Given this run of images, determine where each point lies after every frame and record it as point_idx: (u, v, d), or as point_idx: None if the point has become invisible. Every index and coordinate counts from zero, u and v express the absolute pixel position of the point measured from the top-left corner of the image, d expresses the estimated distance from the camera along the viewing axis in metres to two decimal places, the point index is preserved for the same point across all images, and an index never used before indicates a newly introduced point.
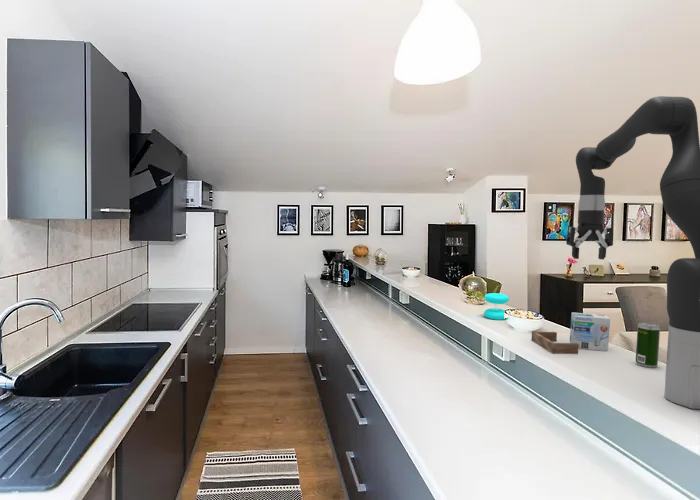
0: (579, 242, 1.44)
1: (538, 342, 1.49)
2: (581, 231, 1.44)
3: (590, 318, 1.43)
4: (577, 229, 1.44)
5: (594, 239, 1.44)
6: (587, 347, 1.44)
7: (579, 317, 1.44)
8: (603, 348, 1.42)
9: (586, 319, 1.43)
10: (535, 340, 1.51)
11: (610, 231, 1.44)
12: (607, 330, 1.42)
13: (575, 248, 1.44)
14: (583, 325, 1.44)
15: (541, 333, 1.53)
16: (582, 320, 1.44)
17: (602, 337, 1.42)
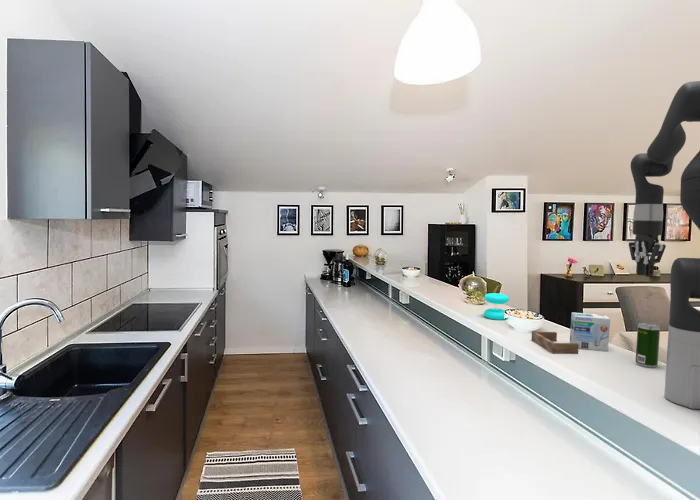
0: None
1: (538, 342, 1.49)
2: None
3: (590, 318, 1.43)
4: None
5: None
6: (587, 347, 1.44)
7: (579, 317, 1.44)
8: (603, 348, 1.42)
9: (586, 319, 1.43)
10: (535, 340, 1.51)
11: None
12: (607, 330, 1.42)
13: None
14: (583, 325, 1.44)
15: (541, 333, 1.53)
16: (582, 320, 1.44)
17: (602, 337, 1.42)
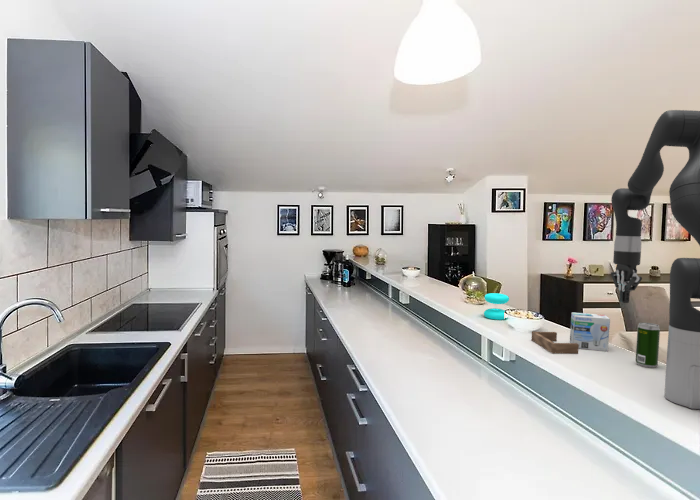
0: None
1: (538, 342, 1.49)
2: None
3: (590, 318, 1.43)
4: None
5: None
6: (587, 347, 1.44)
7: (579, 317, 1.44)
8: (603, 348, 1.42)
9: (586, 319, 1.43)
10: (535, 340, 1.51)
11: None
12: (607, 330, 1.42)
13: None
14: (583, 325, 1.44)
15: (541, 333, 1.53)
16: (582, 320, 1.44)
17: (602, 337, 1.42)
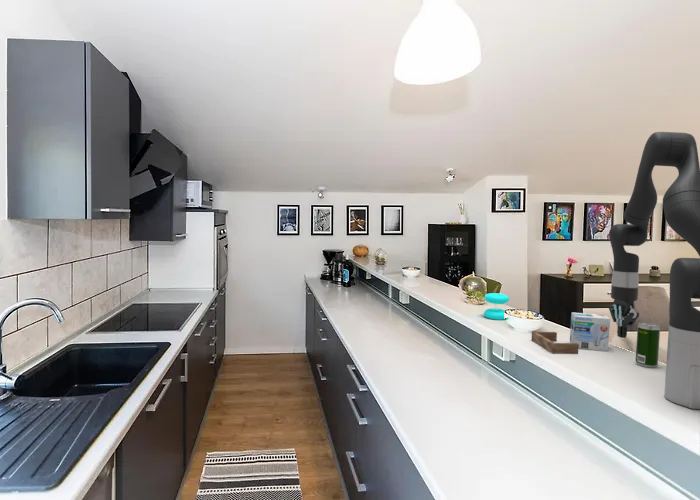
0: None
1: (538, 342, 1.49)
2: None
3: (590, 318, 1.43)
4: None
5: None
6: (587, 347, 1.44)
7: (579, 317, 1.44)
8: (603, 348, 1.42)
9: (586, 319, 1.43)
10: (535, 340, 1.51)
11: None
12: (607, 330, 1.42)
13: None
14: (583, 325, 1.44)
15: (541, 333, 1.53)
16: (582, 320, 1.44)
17: (602, 337, 1.42)
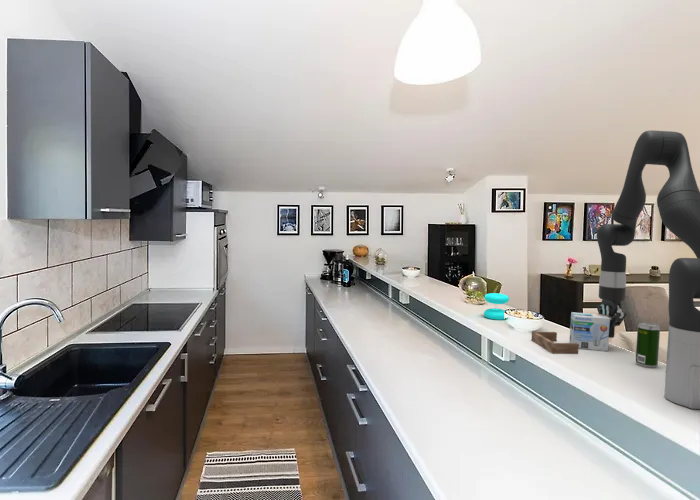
0: None
1: (538, 342, 1.49)
2: None
3: (590, 318, 1.43)
4: None
5: None
6: (587, 347, 1.44)
7: (579, 317, 1.44)
8: (603, 347, 1.42)
9: (586, 319, 1.43)
10: (535, 340, 1.51)
11: None
12: (607, 330, 1.42)
13: None
14: (583, 325, 1.44)
15: (541, 333, 1.53)
16: (582, 320, 1.44)
17: (602, 337, 1.42)
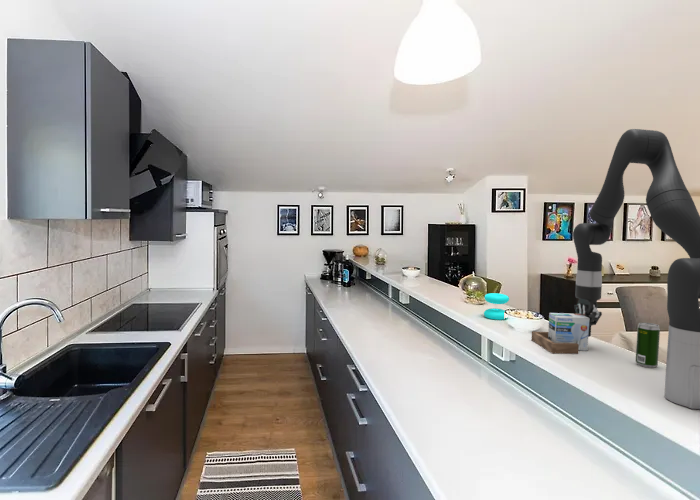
0: None
1: (538, 342, 1.49)
2: None
3: (571, 318, 1.42)
4: None
5: None
6: None
7: (561, 318, 1.42)
8: (584, 347, 1.42)
9: (567, 319, 1.42)
10: (535, 340, 1.51)
11: None
12: (587, 329, 1.42)
13: None
14: (565, 326, 1.42)
15: (541, 333, 1.53)
16: (563, 321, 1.42)
17: (582, 337, 1.42)
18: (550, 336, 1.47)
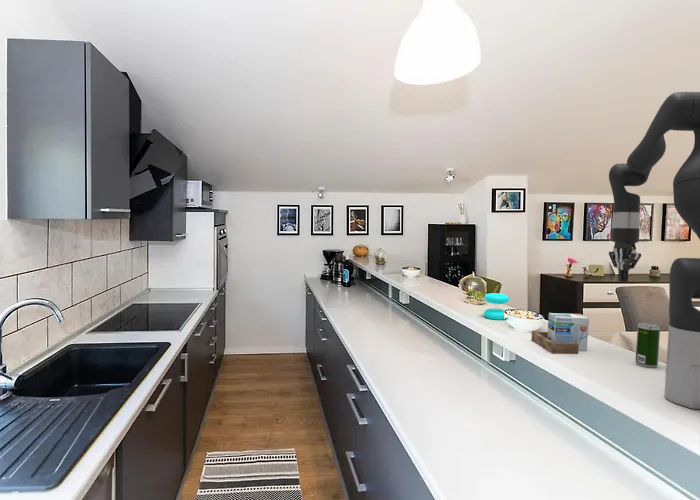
0: None
1: (538, 342, 1.49)
2: None
3: (570, 318, 1.42)
4: None
5: None
6: None
7: (560, 318, 1.42)
8: (583, 347, 1.42)
9: (567, 320, 1.42)
10: (535, 340, 1.51)
11: None
12: (586, 330, 1.42)
13: None
14: (564, 326, 1.42)
15: (541, 333, 1.53)
16: (563, 321, 1.42)
17: (582, 337, 1.42)
18: (549, 336, 1.47)
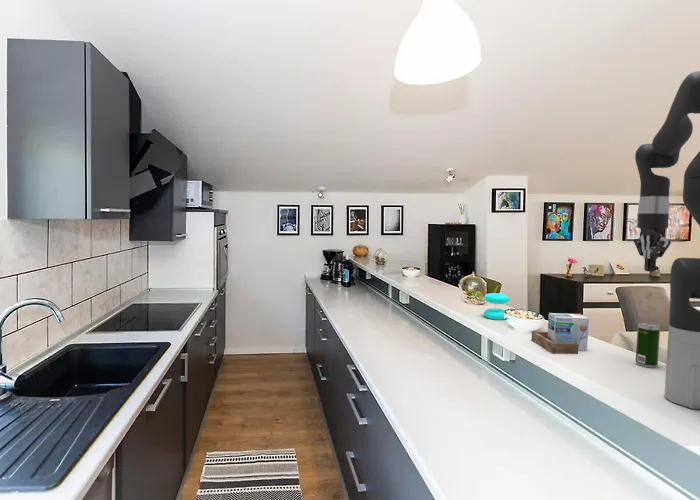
0: None
1: (538, 342, 1.49)
2: None
3: (570, 318, 1.42)
4: None
5: None
6: None
7: (560, 318, 1.42)
8: (583, 347, 1.42)
9: (567, 320, 1.42)
10: (535, 340, 1.51)
11: None
12: (586, 330, 1.42)
13: None
14: (564, 326, 1.42)
15: (541, 333, 1.53)
16: (563, 321, 1.42)
17: (582, 337, 1.42)
18: (549, 336, 1.47)
